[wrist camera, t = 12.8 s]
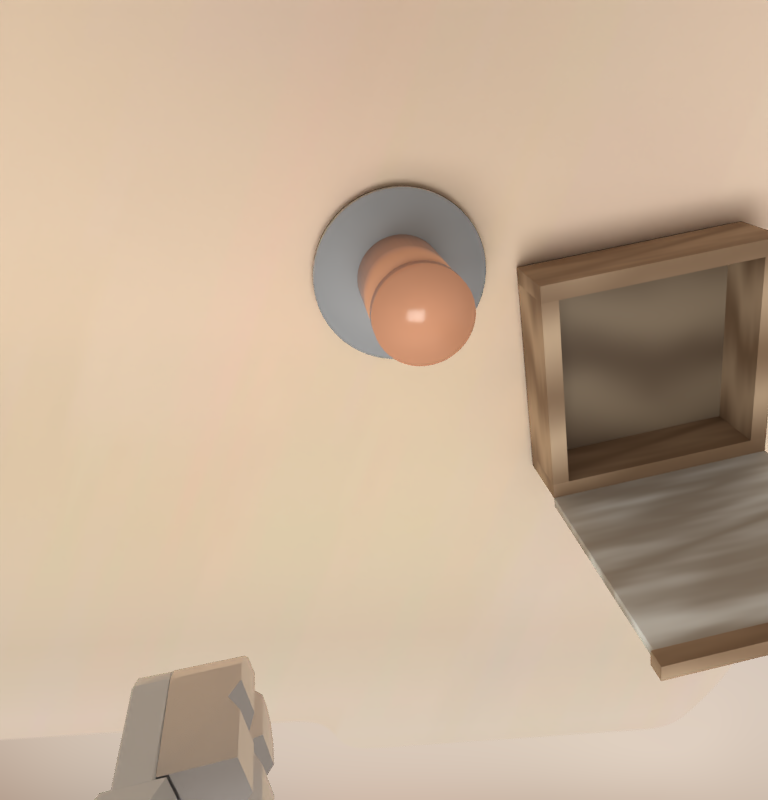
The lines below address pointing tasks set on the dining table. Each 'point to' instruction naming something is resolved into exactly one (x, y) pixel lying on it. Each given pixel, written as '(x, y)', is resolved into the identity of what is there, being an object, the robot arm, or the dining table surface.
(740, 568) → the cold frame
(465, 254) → the grey flat disc
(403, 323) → the orange cylinder
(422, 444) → the dining table surface
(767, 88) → the dining table surface
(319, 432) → the dining table surface
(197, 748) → the robot arm
